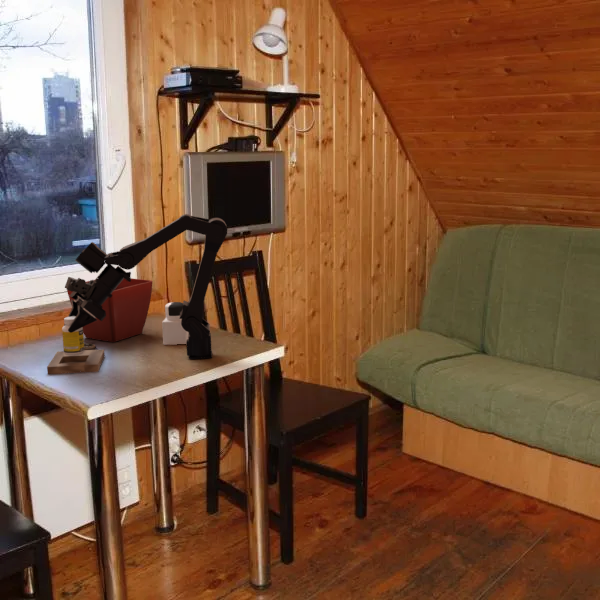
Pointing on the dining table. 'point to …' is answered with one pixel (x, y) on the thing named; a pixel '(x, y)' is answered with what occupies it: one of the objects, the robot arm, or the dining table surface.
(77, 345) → the supplement bottle
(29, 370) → the dining table surface
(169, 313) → the medicine bottle
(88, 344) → the compass
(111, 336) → the plant pot
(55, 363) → the socket board
